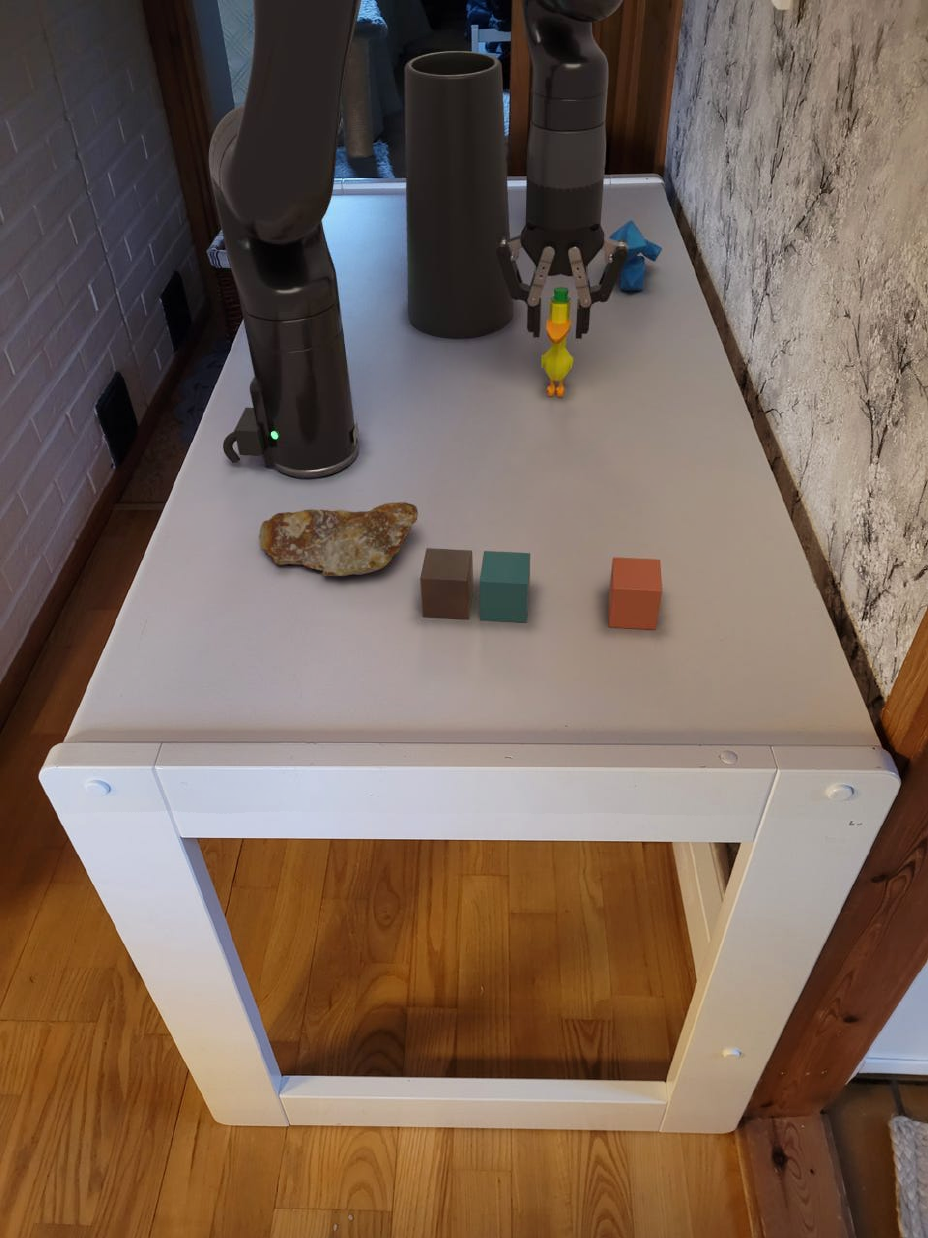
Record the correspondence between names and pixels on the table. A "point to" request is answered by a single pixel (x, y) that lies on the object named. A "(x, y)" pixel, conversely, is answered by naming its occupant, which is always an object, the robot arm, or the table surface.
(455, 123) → the vase
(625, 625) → the terracotta block
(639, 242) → the crystal
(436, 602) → the walnut block
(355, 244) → the table surface
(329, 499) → the table surface
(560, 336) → the toy figure
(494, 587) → the teal block
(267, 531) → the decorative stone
